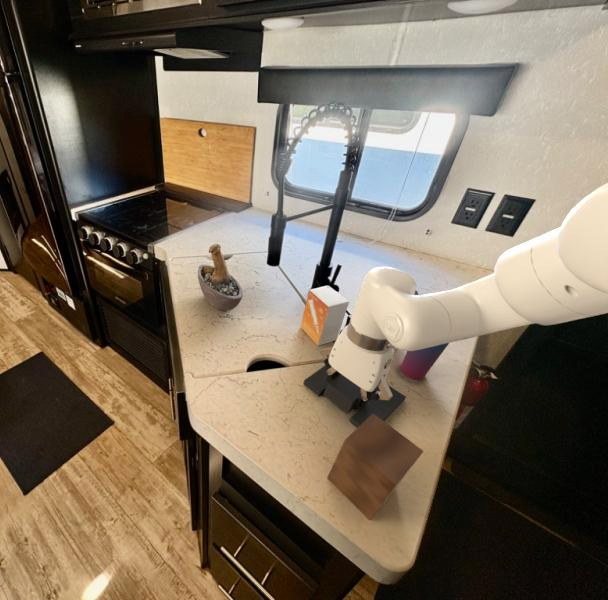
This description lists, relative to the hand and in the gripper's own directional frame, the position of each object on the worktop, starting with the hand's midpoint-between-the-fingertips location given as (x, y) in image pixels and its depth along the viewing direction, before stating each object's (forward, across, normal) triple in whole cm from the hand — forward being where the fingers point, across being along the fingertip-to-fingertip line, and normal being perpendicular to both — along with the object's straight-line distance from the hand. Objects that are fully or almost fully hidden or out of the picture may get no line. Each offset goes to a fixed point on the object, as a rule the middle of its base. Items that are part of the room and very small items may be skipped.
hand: (344, 395), depth 67 cm
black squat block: (+1, 0, 0) cm, 1 cm away
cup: (+2, -5, -21) cm, 21 cm away
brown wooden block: (+2, -12, +12) cm, 17 cm away
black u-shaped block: (+2, 0, -4) cm, 4 cm away
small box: (+2, +17, -14) cm, 22 cm away
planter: (+2, +45, 0) cm, 45 cm away
